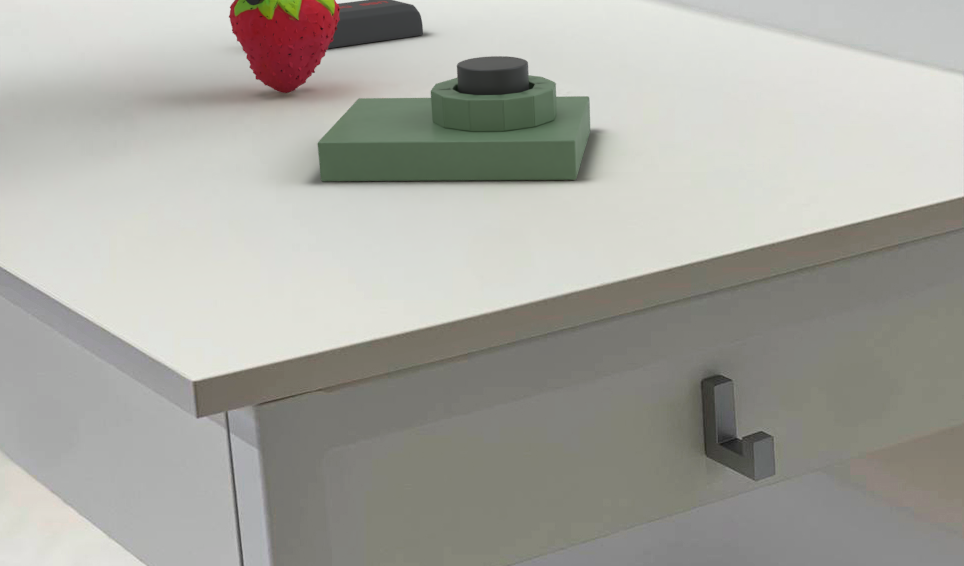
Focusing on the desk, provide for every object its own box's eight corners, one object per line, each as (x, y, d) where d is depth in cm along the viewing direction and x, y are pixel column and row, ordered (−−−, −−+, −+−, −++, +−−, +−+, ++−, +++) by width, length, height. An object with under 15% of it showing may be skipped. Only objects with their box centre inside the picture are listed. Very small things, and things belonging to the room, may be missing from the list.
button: (453, 101, 90) (451, 70, 89) (463, 86, 93) (462, 56, 93) (525, 101, 90) (524, 69, 89) (532, 85, 93) (531, 55, 93)
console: (320, 181, 88) (314, 109, 87) (361, 133, 98) (355, 68, 97) (576, 180, 87) (574, 107, 86) (590, 132, 98) (588, 65, 96)
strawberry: (359, 96, 109) (347, -58, 105) (249, 108, 106) (232, -49, 102) (335, 80, 113) (323, -67, 110) (230, 91, 111) (213, -59, 107)
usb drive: (423, 34, 129) (421, 0, 128) (286, 54, 123) (282, 17, 122) (391, 26, 133) (389, -8, 132) (256, 45, 127) (253, 9, 126)
